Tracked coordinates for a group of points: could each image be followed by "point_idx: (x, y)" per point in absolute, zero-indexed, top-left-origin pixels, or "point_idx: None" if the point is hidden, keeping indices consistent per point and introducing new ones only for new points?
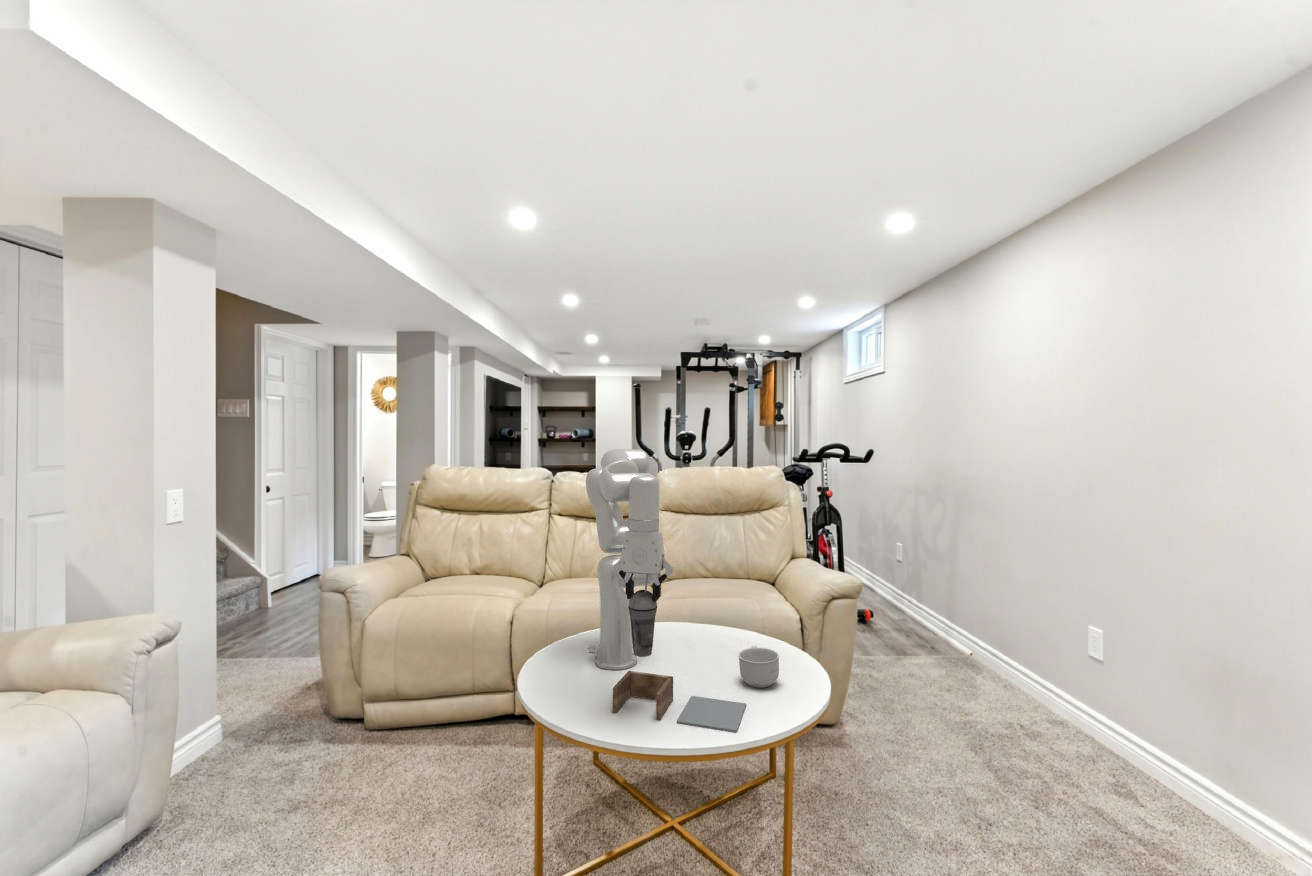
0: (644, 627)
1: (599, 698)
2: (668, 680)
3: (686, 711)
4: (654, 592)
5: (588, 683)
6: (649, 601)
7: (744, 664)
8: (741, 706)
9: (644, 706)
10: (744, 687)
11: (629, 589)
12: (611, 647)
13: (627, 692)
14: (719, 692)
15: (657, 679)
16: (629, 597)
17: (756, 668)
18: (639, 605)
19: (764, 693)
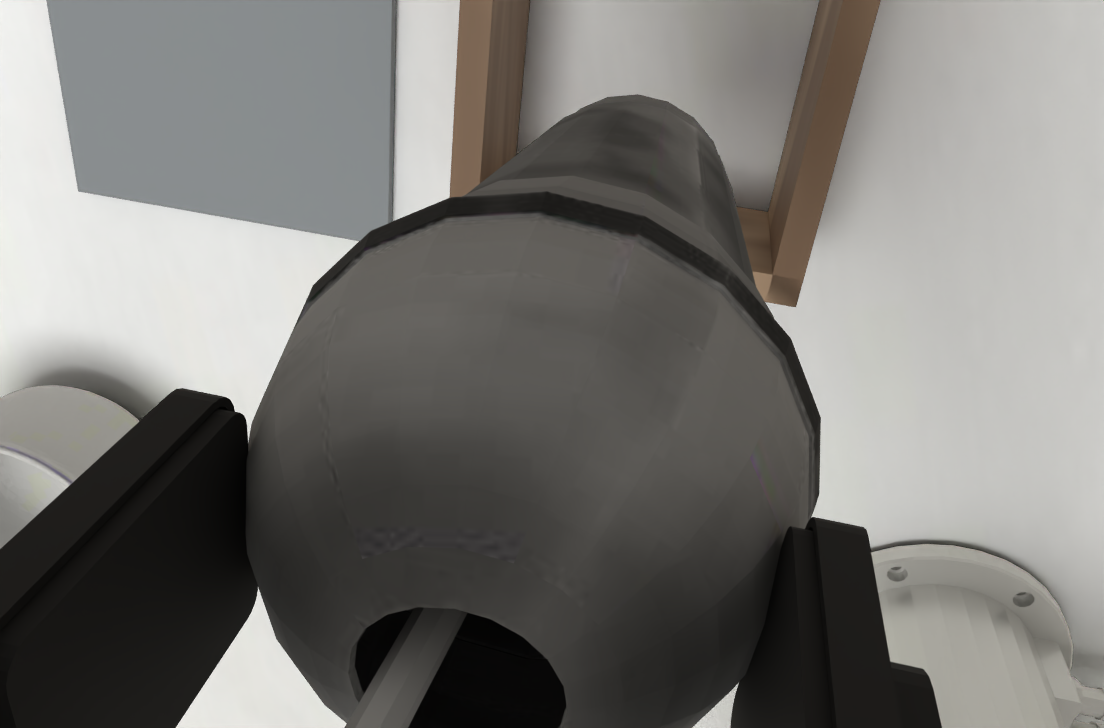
0: (523, 163)
1: (991, 147)
2: (465, 175)
3: (366, 24)
4: (70, 511)
5: (1092, 359)
6: (298, 377)
7: (78, 464)
8: (90, 150)
9: (653, 77)
10: (156, 394)
11: (817, 700)
12: (973, 668)
13: (785, 164)
14: (260, 325)
15: None
16: (802, 540)
17: (8, 427)
18: (519, 262)
19: (47, 339)
